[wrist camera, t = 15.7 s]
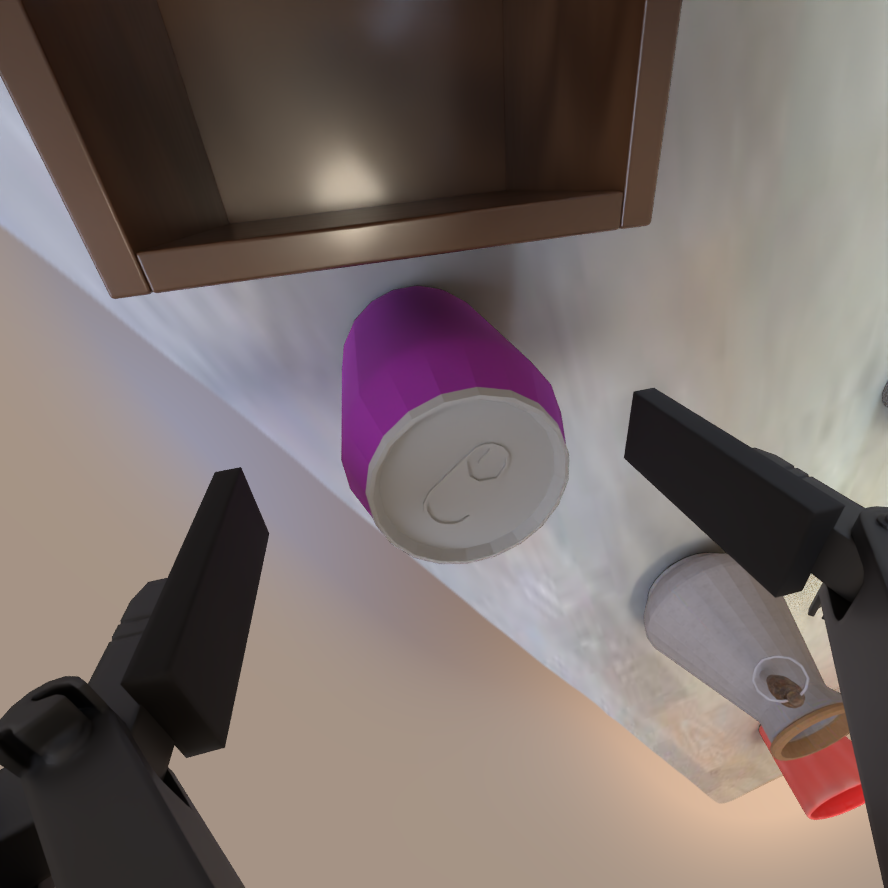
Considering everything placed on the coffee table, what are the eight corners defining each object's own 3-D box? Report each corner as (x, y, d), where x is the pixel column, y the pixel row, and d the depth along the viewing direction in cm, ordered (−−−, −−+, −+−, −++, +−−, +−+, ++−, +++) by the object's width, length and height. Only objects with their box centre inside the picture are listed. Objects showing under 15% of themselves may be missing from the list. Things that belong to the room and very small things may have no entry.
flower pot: (752, 714, 58) (820, 800, 50) (826, 687, 58) (905, 768, 50) (742, 747, 63) (801, 829, 55) (810, 722, 64) (878, 800, 56)
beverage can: (396, 246, 20) (451, 305, 10) (512, 337, 23) (641, 450, 13) (313, 376, 22) (289, 531, 12) (430, 441, 26) (486, 605, 16)
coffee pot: (759, 575, 40) (948, 750, 28) (657, 640, 43) (788, 828, 30) (681, 441, 30) (929, 626, 17) (549, 538, 32) (683, 763, 19)
